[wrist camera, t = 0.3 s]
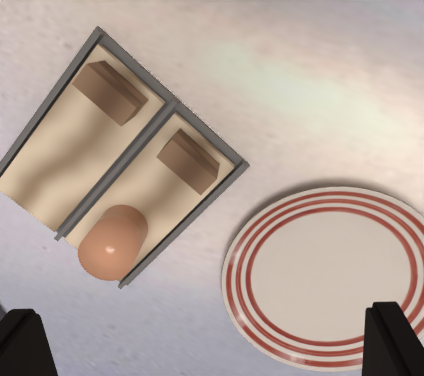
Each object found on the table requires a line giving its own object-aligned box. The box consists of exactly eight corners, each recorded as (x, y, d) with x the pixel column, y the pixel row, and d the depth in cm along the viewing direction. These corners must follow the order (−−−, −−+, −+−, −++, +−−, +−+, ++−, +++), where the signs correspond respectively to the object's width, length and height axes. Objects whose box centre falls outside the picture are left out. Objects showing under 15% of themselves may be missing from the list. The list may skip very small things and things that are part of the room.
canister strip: (68, 234, 50) (45, 260, 44) (176, 111, 43) (165, 123, 37) (122, 276, 52) (106, 306, 46) (234, 164, 45) (232, 183, 39)
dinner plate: (240, 363, 57) (240, 381, 54) (203, 196, 48) (200, 207, 45) (436, 346, 53) (448, 365, 50) (439, 160, 44) (454, 170, 41)
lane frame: (-10, 177, 49) (-19, 183, 47) (98, 26, 41) (92, 25, 39) (128, 283, 53) (124, 291, 52) (249, 165, 45) (249, 170, 44)
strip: (0, 182, 48) (-34, 202, 42) (101, 44, 41) (77, 45, 35) (58, 227, 50) (34, 252, 44) (165, 102, 43) (153, 113, 37)
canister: (91, 226, 48) (67, 257, 42) (119, 195, 46) (99, 221, 40) (128, 256, 49) (110, 290, 43) (157, 226, 47) (144, 257, 41)
